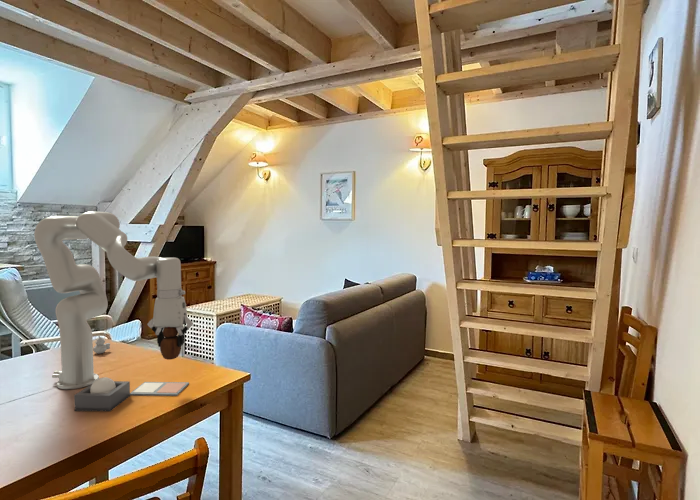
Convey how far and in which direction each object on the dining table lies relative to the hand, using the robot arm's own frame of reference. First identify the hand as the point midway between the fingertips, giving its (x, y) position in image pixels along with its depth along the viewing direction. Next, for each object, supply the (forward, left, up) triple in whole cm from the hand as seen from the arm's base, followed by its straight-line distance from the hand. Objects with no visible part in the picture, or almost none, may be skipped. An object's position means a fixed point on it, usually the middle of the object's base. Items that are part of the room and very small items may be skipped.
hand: (171, 345), depth 140 cm
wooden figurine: (0, 0, -5) cm, 5 cm away
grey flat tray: (-4, 0, -16) cm, 16 cm away
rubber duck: (-48, +38, -16) cm, 63 cm away
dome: (-17, -11, -15) cm, 25 cm away
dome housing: (-17, -11, -16) cm, 26 cm away
